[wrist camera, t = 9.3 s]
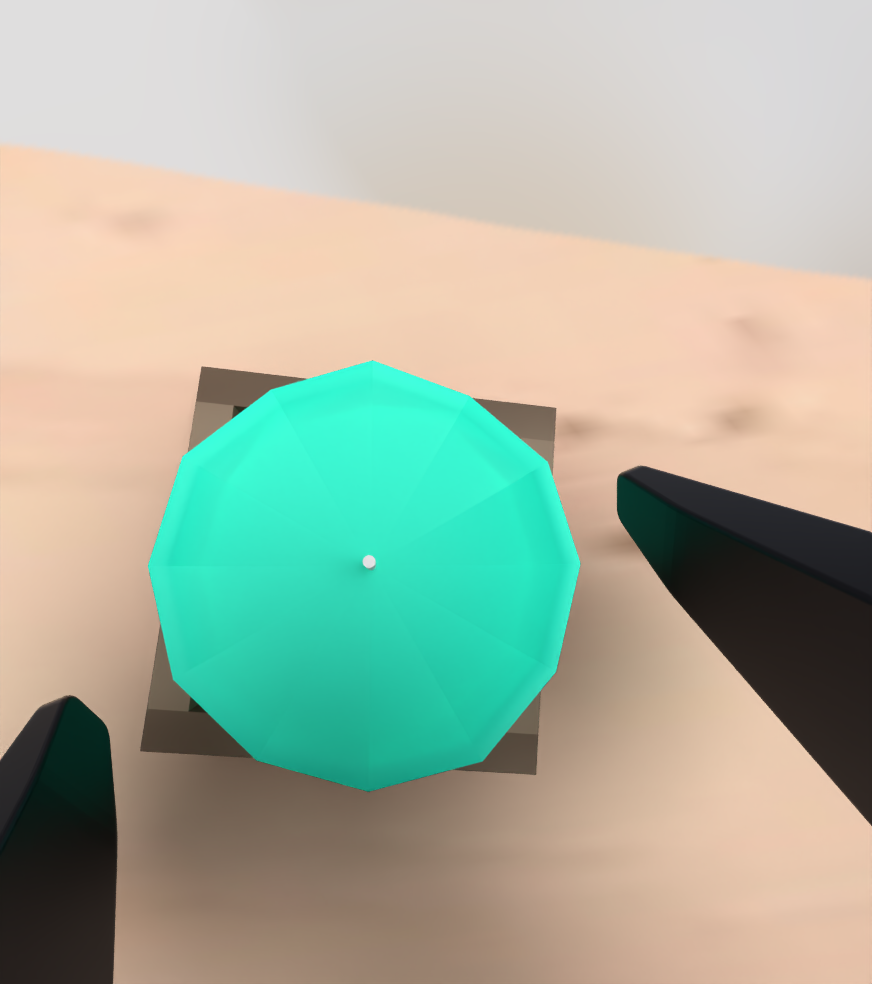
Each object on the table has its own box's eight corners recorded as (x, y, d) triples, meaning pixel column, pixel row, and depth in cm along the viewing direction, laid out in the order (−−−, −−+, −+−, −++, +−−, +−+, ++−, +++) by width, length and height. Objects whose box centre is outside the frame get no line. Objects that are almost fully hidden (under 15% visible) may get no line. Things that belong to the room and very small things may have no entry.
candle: (501, 605, 18) (719, 654, 7) (337, 707, 18) (254, 972, 6) (408, 447, 19) (460, 232, 7) (243, 538, 18) (-10, 461, 6)
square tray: (504, 735, 19) (535, 774, 15) (189, 715, 18) (139, 751, 14) (523, 439, 20) (556, 408, 17) (235, 407, 19) (201, 366, 16)
